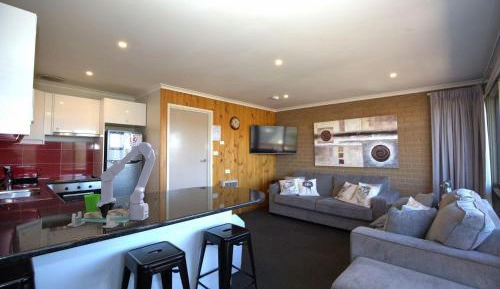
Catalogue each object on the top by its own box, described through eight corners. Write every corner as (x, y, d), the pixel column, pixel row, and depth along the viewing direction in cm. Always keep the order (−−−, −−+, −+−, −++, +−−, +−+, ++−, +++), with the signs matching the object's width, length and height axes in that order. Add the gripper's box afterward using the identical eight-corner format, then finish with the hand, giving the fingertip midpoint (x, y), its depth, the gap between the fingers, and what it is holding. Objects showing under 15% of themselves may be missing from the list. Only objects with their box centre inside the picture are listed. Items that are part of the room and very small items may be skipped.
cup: (92, 215, 146) (92, 197, 146) (79, 214, 148) (79, 196, 148) (103, 212, 155) (104, 194, 155) (91, 211, 157) (92, 193, 157)
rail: (128, 212, 139) (127, 208, 139) (126, 213, 137) (125, 209, 137) (87, 217, 140) (86, 212, 140) (84, 218, 138) (83, 214, 138)
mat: (133, 218, 143) (133, 216, 143) (124, 223, 133) (124, 221, 133) (89, 216, 144) (89, 215, 144) (77, 221, 134) (77, 220, 134)
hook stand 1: (85, 223, 131) (85, 211, 131) (77, 226, 125) (77, 214, 125) (76, 223, 131) (76, 211, 131) (67, 226, 125) (68, 214, 125)
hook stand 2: (118, 224, 130) (119, 212, 130) (111, 228, 124) (112, 215, 124) (109, 224, 130) (109, 212, 131) (102, 227, 124) (102, 215, 125)
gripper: (108, 190, 146) (107, 213, 146) (91, 194, 132) (90, 220, 131) (119, 190, 146) (118, 213, 145) (104, 194, 131) (103, 220, 131)
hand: (106, 216), depth 138 cm, fingers closed on rail, 2 cm apart
